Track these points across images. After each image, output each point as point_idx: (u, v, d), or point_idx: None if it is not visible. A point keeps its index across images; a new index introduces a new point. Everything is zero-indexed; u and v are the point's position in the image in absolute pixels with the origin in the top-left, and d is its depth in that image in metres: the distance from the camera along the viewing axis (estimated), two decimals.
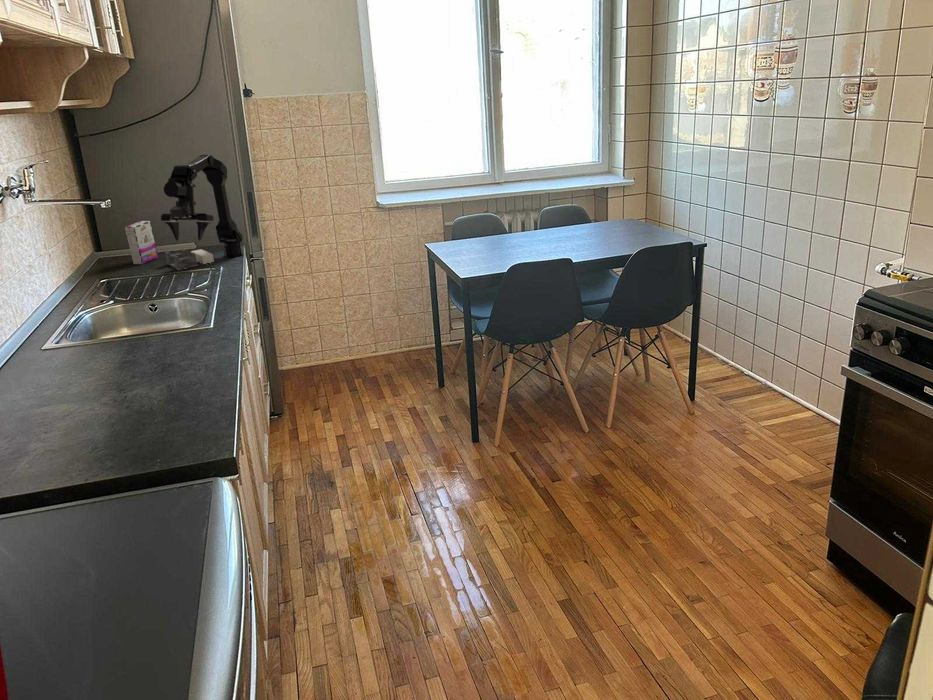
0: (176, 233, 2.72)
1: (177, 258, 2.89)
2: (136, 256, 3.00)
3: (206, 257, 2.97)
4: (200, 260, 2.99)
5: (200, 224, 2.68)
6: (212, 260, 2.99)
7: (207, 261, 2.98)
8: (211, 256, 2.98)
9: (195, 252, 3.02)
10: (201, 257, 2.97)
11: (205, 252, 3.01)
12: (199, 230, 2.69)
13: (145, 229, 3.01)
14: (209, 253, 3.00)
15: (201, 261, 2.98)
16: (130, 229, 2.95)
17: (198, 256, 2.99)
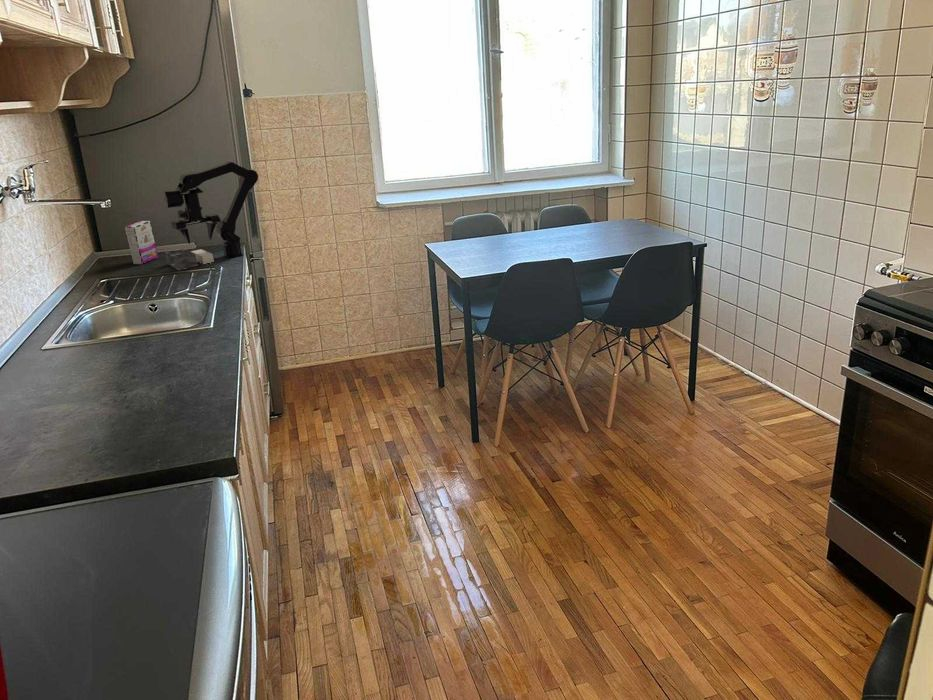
0: (208, 233, 3.01)
1: (177, 258, 2.89)
2: (136, 256, 3.00)
3: (206, 257, 2.97)
4: (200, 260, 2.99)
5: None
6: (212, 260, 2.99)
7: (207, 261, 2.98)
8: (210, 256, 2.98)
9: (195, 252, 3.02)
10: (201, 257, 2.97)
11: (205, 252, 3.01)
12: None
13: (145, 229, 3.01)
14: (209, 253, 2.99)
15: (201, 261, 2.98)
16: (130, 229, 2.95)
17: (198, 256, 2.99)
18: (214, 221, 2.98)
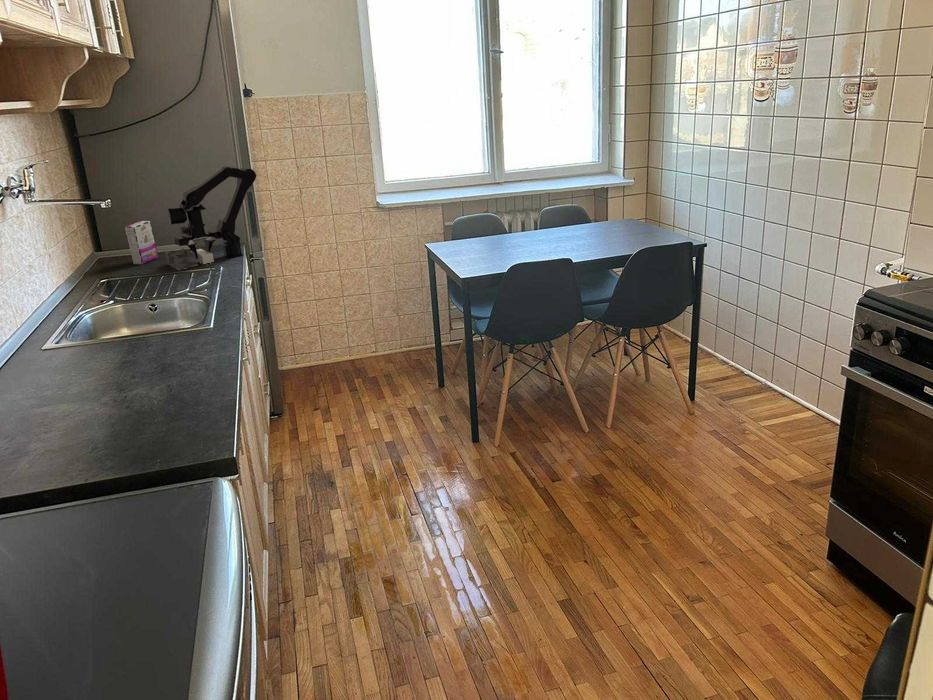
0: (206, 250, 3.03)
1: (177, 258, 2.89)
2: (136, 256, 3.00)
3: (206, 256, 2.97)
4: (200, 259, 2.98)
5: None
6: (212, 259, 2.99)
7: (207, 260, 2.98)
8: (210, 256, 2.98)
9: None
10: (201, 256, 2.97)
11: (205, 251, 3.01)
12: None
13: (145, 229, 3.01)
14: (209, 252, 2.99)
15: (201, 260, 2.98)
16: (130, 229, 2.95)
17: (198, 255, 2.99)
18: (217, 237, 3.01)
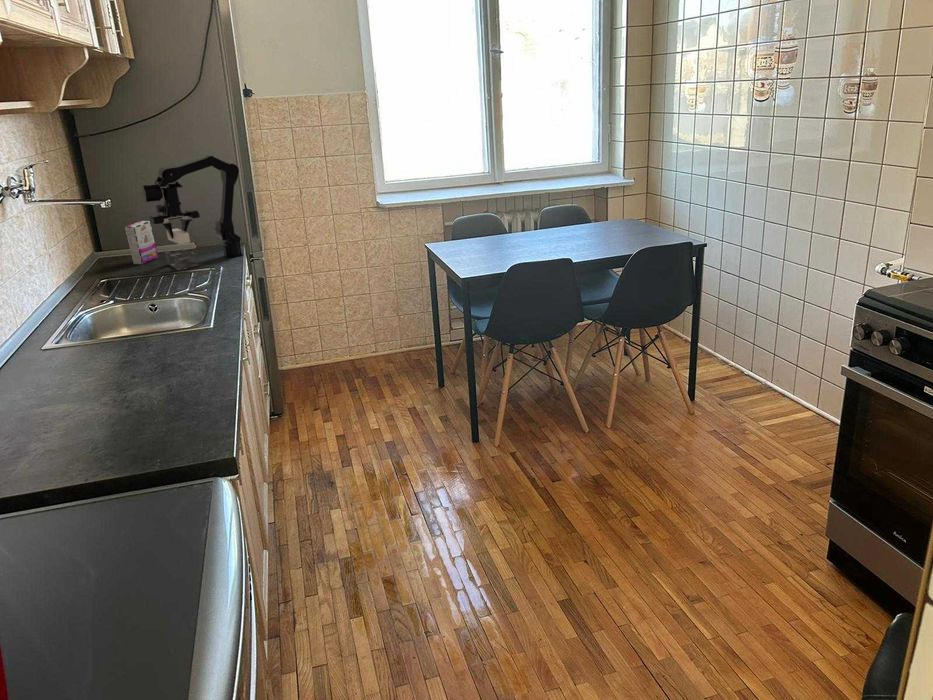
0: (182, 229, 2.94)
1: (177, 258, 2.89)
2: (136, 256, 3.00)
3: (181, 236, 2.88)
4: (175, 239, 2.89)
5: None
6: (188, 239, 2.90)
7: (182, 240, 2.89)
8: (186, 235, 2.89)
9: None
10: (176, 235, 2.88)
11: (181, 231, 2.92)
12: None
13: (145, 229, 3.01)
14: (185, 232, 2.90)
15: (176, 240, 2.89)
16: (130, 229, 2.95)
17: (173, 235, 2.90)
18: (193, 217, 2.92)
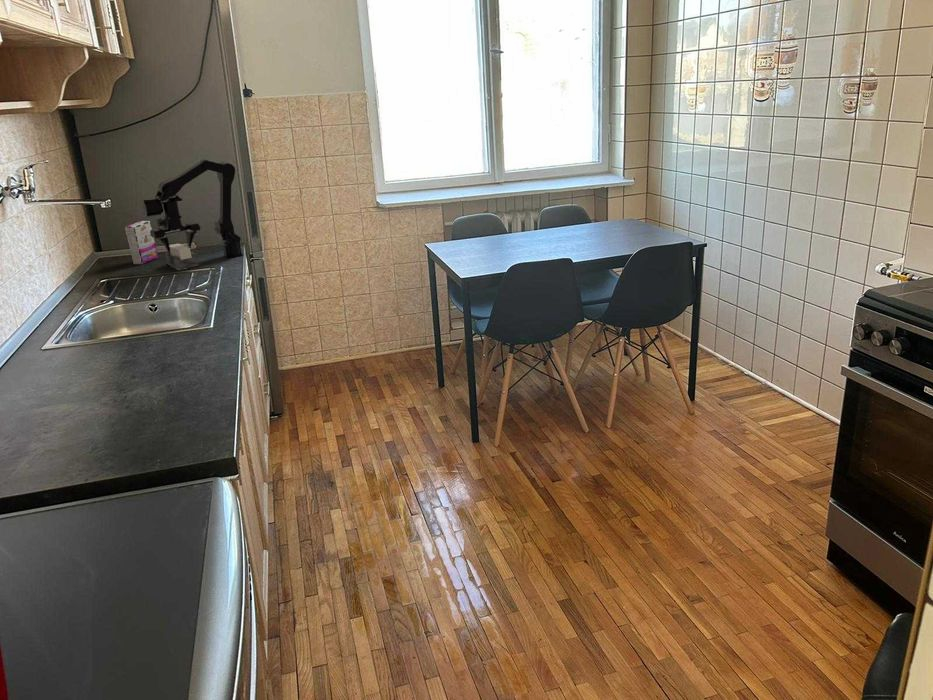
0: (187, 242, 2.96)
1: (177, 258, 2.89)
2: (136, 256, 3.00)
3: (183, 251, 2.90)
4: (177, 254, 2.91)
5: None
6: (189, 254, 2.92)
7: (184, 255, 2.91)
8: (188, 250, 2.91)
9: (172, 246, 2.95)
10: (178, 251, 2.90)
11: (182, 246, 2.94)
12: None
13: (145, 229, 3.01)
14: (186, 247, 2.92)
15: (178, 255, 2.91)
16: (130, 229, 2.95)
17: (175, 250, 2.92)
18: (194, 230, 2.94)
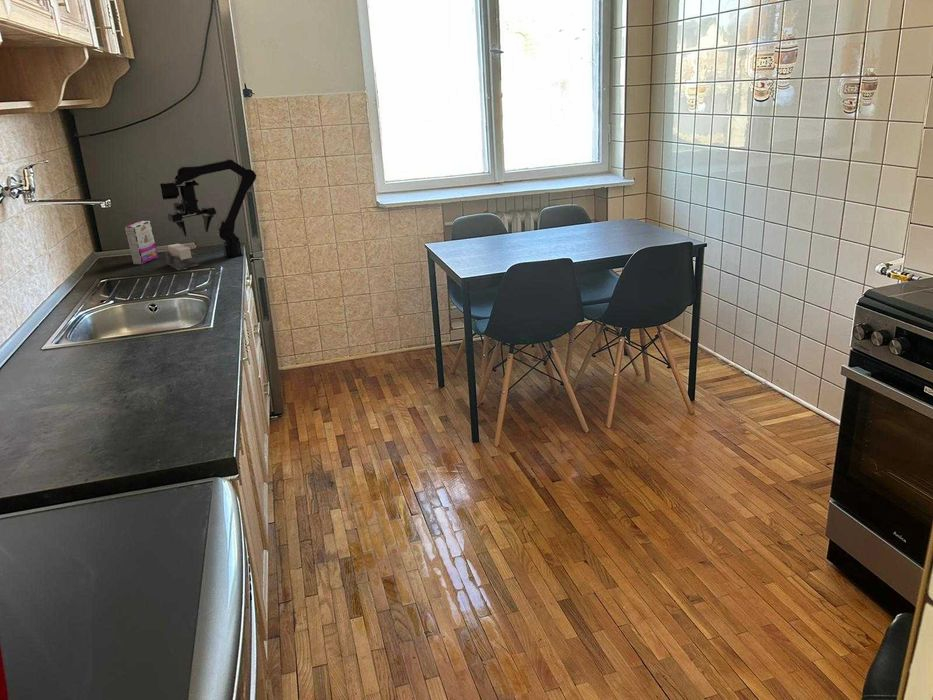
0: (205, 225, 3.01)
1: (177, 258, 2.89)
2: (136, 256, 3.00)
3: (183, 251, 2.90)
4: (177, 254, 2.91)
5: None
6: (189, 254, 2.92)
7: (184, 255, 2.91)
8: (188, 250, 2.91)
9: (172, 246, 2.95)
10: (178, 251, 2.90)
11: (182, 246, 2.94)
12: None
13: (145, 229, 3.01)
14: (186, 247, 2.92)
15: (178, 255, 2.91)
16: (130, 229, 2.95)
17: (175, 250, 2.92)
18: (210, 213, 2.98)
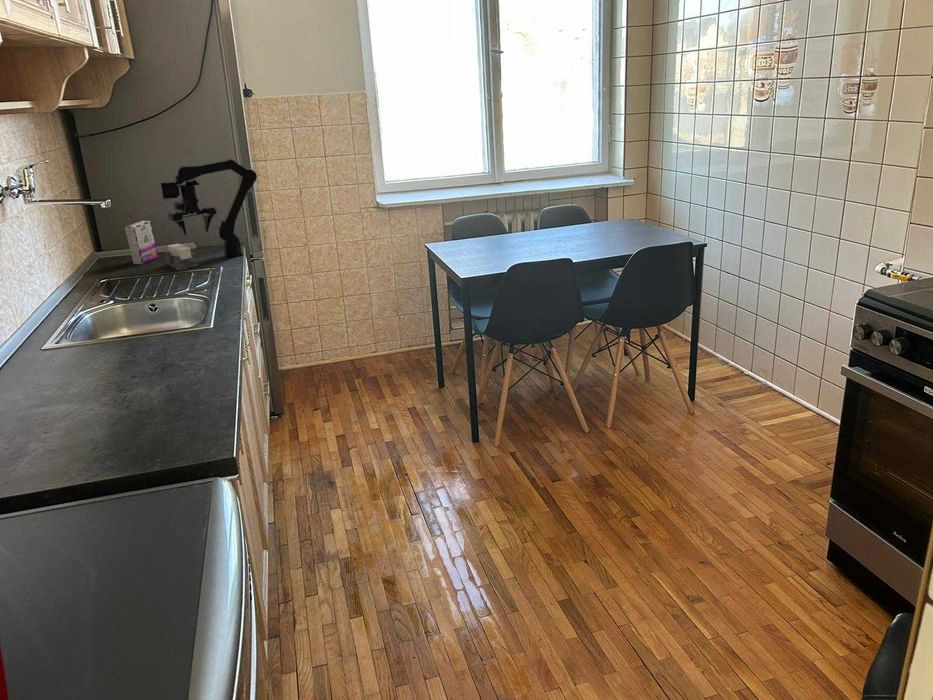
0: (205, 225, 3.01)
1: (177, 258, 2.89)
2: (136, 256, 3.00)
3: (183, 251, 2.90)
4: (177, 254, 2.91)
5: None
6: (189, 254, 2.92)
7: (184, 255, 2.91)
8: (188, 250, 2.91)
9: (172, 246, 2.95)
10: (178, 251, 2.90)
11: (182, 246, 2.94)
12: None
13: (145, 229, 3.01)
14: (186, 247, 2.92)
15: (178, 255, 2.91)
16: (130, 229, 2.95)
17: (175, 250, 2.92)
18: (211, 213, 2.98)
